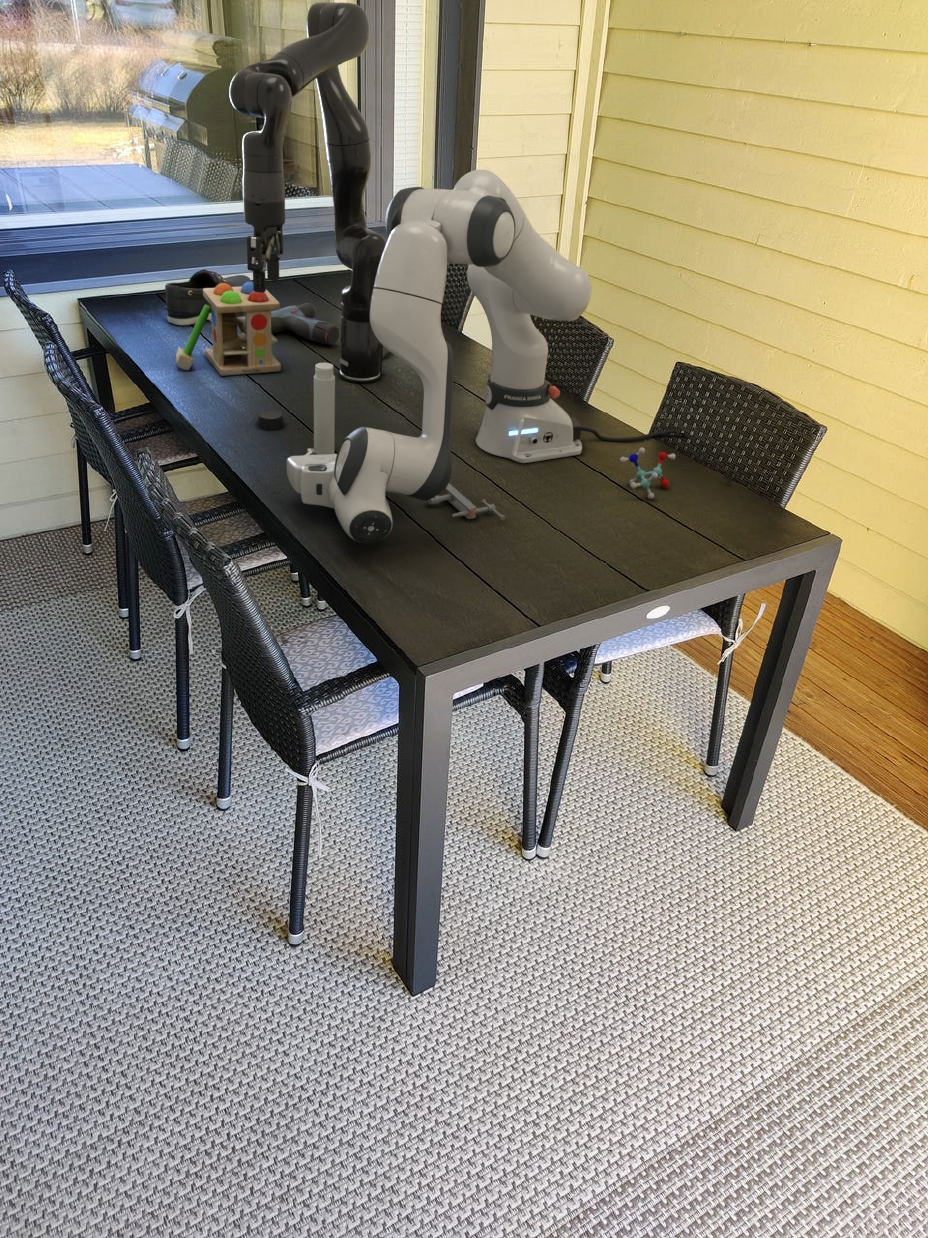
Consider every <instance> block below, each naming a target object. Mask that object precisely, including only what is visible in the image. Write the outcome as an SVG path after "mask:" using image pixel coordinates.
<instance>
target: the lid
mask: <svg viewBox="0 0 928 1238" xmlns="http://www.w3.org/2000/svg"><path fill="white" fill-rule="evenodd" d="M257 418H258V421H257V422H258V427H260V428H261V429H264V430H269V431H272V430H273V431H274V430H279V429H280V428H282V427H283V425H284V423H283V422H284V421H283V420H284V419H283V413H282V412H281V411H279V410H275V409H265V410H261V411H260V412H258V416H257Z"/></svg>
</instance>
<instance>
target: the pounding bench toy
mask: <svg viewBox="0 0 928 1238" xmlns="http://www.w3.org/2000/svg"><path fill="white" fill-rule="evenodd" d="M203 296H204V297H205V299H206V300H207V301H208V302H209V304H210V305H211V307H210V306H208V305H204V307H203V309H202V311H201V314H200V316H199V318H198V320H197V322H196V323H195V324H194V327H193V329H192V331H191V332H190V333H191V334H190V336H189V338H188V340H187V343H186V344H185V347H184V348H182V347H180V346H179V347H178V349H177V351H176V354H175V357H174V358H175V362H176V365H177V366H178V368H179V369H182V370H185V371H189V370H190V369H191V367H192V365H193V363H194V356H193V351H194V348H195V347H196V345H197V342H198V340H199V337H200V336H201V333H202V332H203V329H204V326H205V325H206V322H207V321H210V322H211V336H212V337H211V338H212V339H211V340H212V348H205V349H204V352H205V353H204V355H205V357H206V359H208V361H209V363H210V364H211V365H212V366H213V367H214V369H215V370H216V371H217V372H218V374H219V375H220V376H222V377H223V376H234V375H235V376H236V375H246V374H247V375H250V374H262V373H275V372H281V370H282V364H281V363H280V362H279V360H278V359H277V358H276V357H275V356H274V355H273V348H272V347H273V345H272V344H276V343H278V342H279V341H278V339H277V338H276V337H275V336H274V334H273V333H272V334H271V312H272V311H275V310H280V309H281V304H280V301H278V300H277V299H276V297H274V296H273V295H272V294H271V293H270V292H269V290H268V289H266V291H265V292H264V293H260V292H255V291H254V290H253V281H252V282H247V283H245V284H244V285H243V286H242V287H231V286H230V285H228V284H226V283H221V284H218V285H217V286H216V287H215V288H204V289H203ZM210 310H211V314H209V312H210ZM238 313H244V314H245V315H244V316H238ZM207 318H209V320H207ZM238 329H239V331H240V333H239V334H238Z"/></svg>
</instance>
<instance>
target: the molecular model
mask: <svg viewBox="0 0 928 1238" xmlns="http://www.w3.org/2000/svg"><path fill="white" fill-rule="evenodd" d="M645 452H646V449H645V447H640V448H639V449H638V452H636V453H631V454H630V455H629V457H628V456H627V457H625V456H621V457H619V463H621V464H625V463H626V462H628V461H630V462H631V463H633V464H634V466H635V468H636V471H637V472H636V476H635V477H634V478H631V479H629V481H628V483H629V487H630V489H633V490H635V489H636V488H638V487H641V488H643V489H645V490H646V492H647V499H649V500H653V499H654V498H655V494H654V493H653V492H652V491H651V489H650V486H651V482H652V481H653V480H656V479H658V480H659V482H660V485H661V487H662V488H664V489H666V488H668V487H669V486H670V481H669V480H668V479H666V478H665V476H664V475H663V474H662V473H663V470H662V468H661V467H662V464H663V461H664V460H666V459H670V460H672V461H674V460H675V459H676V454H675V453H670V454H667V453H666V452H664V451H661V452H659V453H658V456H657V457H658V459H659V460H658V463H657V466H656V467H654V468H653V469H652V470H650V471H645V470H643V469H641V467H640V465H639V463H638V460H639V456H640V455H643V454H645ZM650 475H651V476H650ZM646 476H650V477H649V478H646ZM638 480H640V482H637V481H638ZM636 482H637V483H636Z"/></svg>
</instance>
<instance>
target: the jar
mask: <svg viewBox="0 0 928 1238" xmlns="http://www.w3.org/2000/svg"><path fill="white" fill-rule="evenodd" d="M314 373H315V374H314V375H313V449H314V448H315V449H316V451H317V455H324V454H335V434H336V433H335V431H336V430H335V421H336V420H335V418H336V417H335V416H336V412H335V411H336V376H335V375H334V365H333V364H332V363H329V362H318V363H316V364H315V367H314Z"/></svg>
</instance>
